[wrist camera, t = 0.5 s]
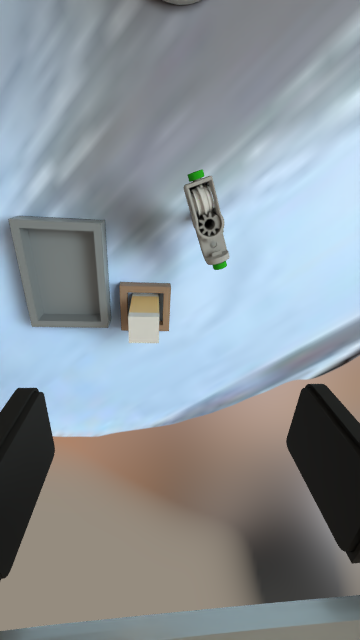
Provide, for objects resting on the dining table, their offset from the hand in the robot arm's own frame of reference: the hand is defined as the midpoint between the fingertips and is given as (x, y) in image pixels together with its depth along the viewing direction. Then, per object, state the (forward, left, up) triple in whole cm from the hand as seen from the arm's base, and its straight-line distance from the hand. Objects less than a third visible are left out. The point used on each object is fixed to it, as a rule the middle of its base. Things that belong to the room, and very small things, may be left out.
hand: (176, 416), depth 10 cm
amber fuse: (+10, -2, -32) cm, 34 cm away
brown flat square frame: (+10, -2, -32) cm, 34 cm away
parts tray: (+5, -13, -32) cm, 35 cm away
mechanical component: (-4, +5, -33) cm, 33 cm away
